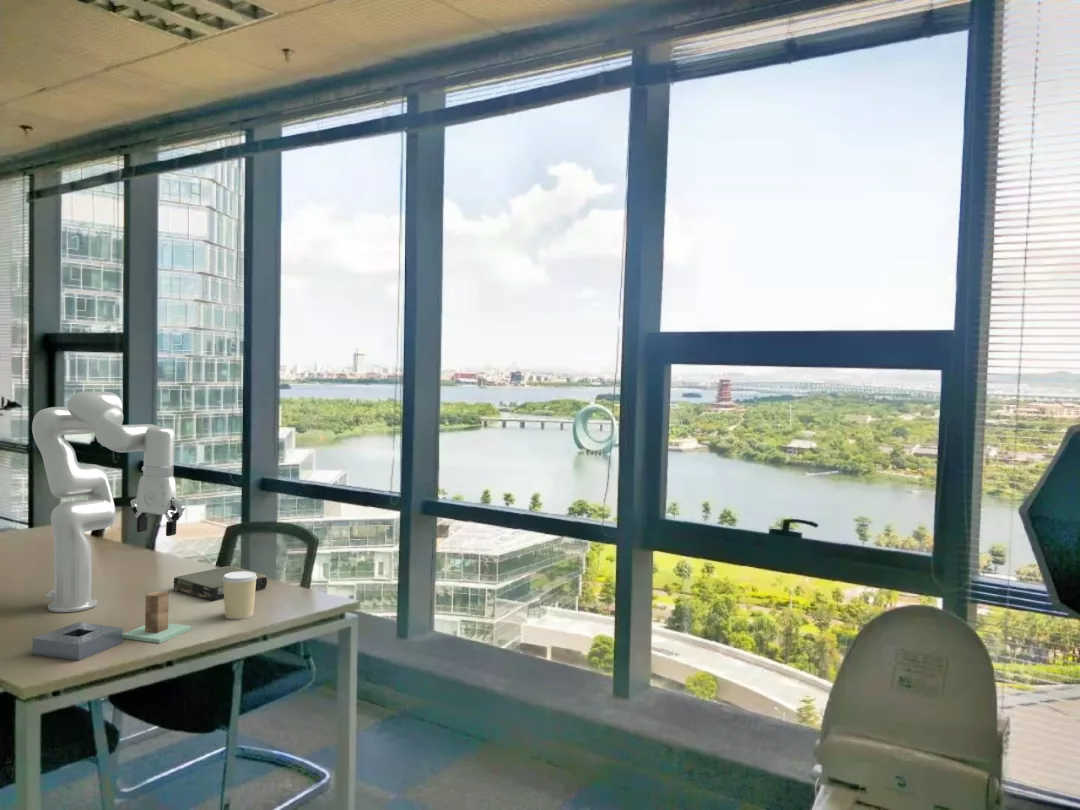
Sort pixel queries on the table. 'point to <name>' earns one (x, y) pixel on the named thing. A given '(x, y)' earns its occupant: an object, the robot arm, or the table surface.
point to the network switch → (211, 582)
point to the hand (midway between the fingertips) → (156, 533)
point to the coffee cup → (239, 594)
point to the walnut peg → (156, 611)
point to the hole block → (77, 641)
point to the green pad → (156, 637)
